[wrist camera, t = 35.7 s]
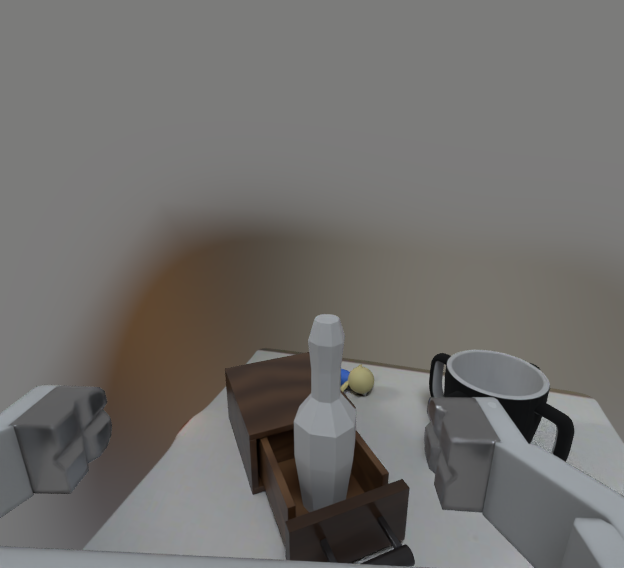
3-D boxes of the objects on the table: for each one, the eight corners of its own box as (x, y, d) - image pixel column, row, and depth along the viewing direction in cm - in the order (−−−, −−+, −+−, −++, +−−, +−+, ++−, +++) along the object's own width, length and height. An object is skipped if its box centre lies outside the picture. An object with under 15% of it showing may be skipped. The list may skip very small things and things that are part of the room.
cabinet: (353, 462, 50) (355, 407, 47) (252, 494, 45) (249, 435, 43) (309, 397, 64) (309, 351, 61) (228, 417, 59) (224, 368, 56)
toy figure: (307, 375, 71) (311, 351, 70) (350, 376, 73) (353, 352, 73) (328, 399, 60) (332, 371, 60) (376, 399, 63) (380, 372, 63)
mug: (538, 424, 57) (554, 353, 54) (564, 511, 43) (588, 423, 39) (427, 401, 63) (434, 335, 59) (417, 471, 49) (425, 391, 45)
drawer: (435, 585, 35) (443, 530, 33) (310, 648, 30) (310, 588, 28) (341, 445, 52) (342, 403, 50) (252, 472, 47) (249, 427, 45)
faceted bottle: (337, 538, 38) (342, 339, 31) (284, 510, 41) (279, 323, 34) (362, 492, 43) (371, 314, 36) (314, 470, 46) (314, 302, 39)
